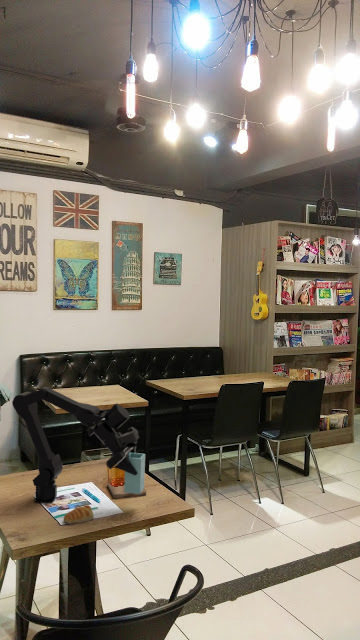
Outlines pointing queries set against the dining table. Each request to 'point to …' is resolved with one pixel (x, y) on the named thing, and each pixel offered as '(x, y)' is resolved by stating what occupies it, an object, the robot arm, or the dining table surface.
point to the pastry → (79, 515)
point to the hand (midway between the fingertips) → (138, 471)
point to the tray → (119, 492)
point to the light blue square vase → (135, 481)
